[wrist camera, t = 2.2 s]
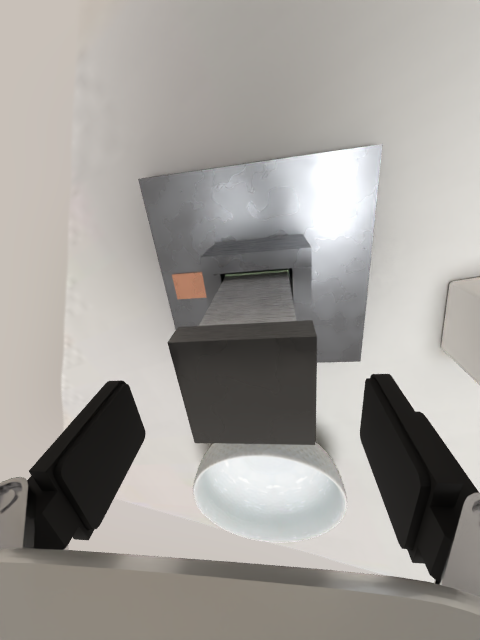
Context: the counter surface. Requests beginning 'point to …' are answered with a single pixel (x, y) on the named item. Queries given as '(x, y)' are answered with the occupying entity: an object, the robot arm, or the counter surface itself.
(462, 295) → the medicine bottle
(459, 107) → the counter surface
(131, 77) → the counter surface
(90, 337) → the counter surface
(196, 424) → the column
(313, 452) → the cereal bowl
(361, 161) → the stand base
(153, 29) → the counter surface
